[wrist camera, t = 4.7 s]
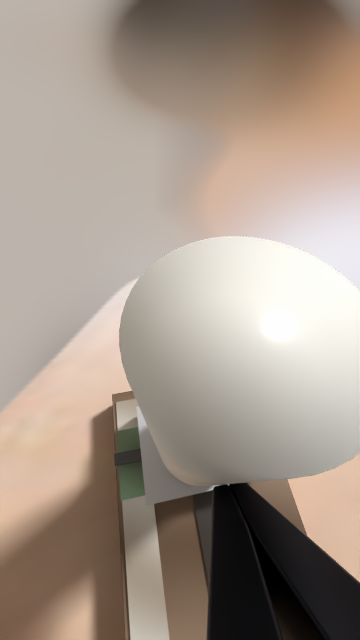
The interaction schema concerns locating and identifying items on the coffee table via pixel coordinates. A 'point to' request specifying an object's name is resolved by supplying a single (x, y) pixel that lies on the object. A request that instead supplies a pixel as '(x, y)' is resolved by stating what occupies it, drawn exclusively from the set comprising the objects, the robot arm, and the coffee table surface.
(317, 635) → the robot arm
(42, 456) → the coffee table surface
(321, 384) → the tuning slider
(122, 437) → the board
